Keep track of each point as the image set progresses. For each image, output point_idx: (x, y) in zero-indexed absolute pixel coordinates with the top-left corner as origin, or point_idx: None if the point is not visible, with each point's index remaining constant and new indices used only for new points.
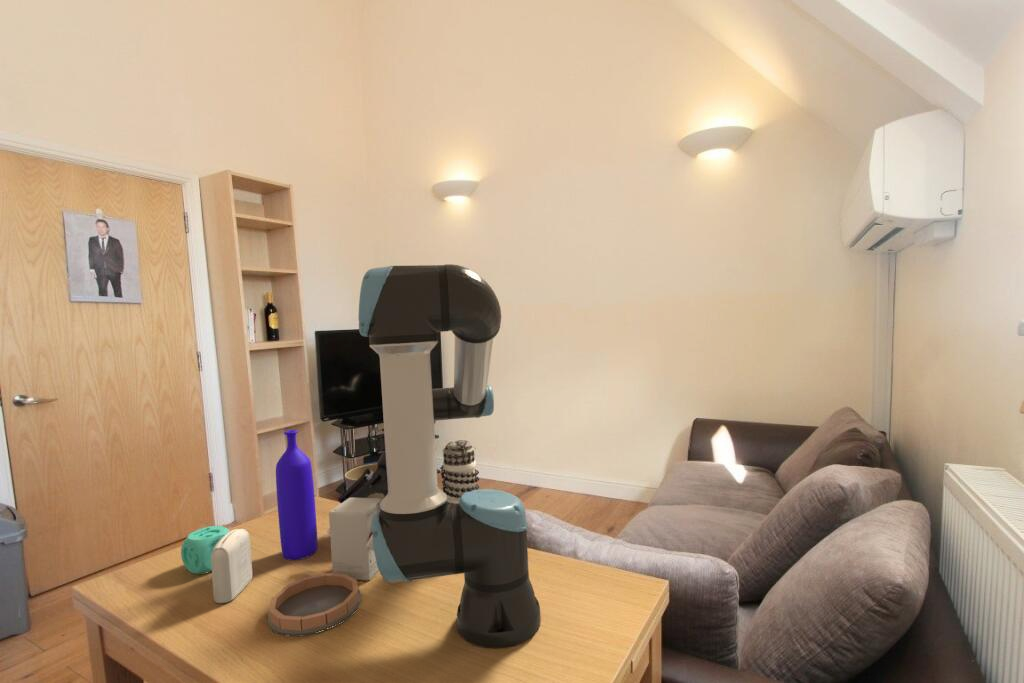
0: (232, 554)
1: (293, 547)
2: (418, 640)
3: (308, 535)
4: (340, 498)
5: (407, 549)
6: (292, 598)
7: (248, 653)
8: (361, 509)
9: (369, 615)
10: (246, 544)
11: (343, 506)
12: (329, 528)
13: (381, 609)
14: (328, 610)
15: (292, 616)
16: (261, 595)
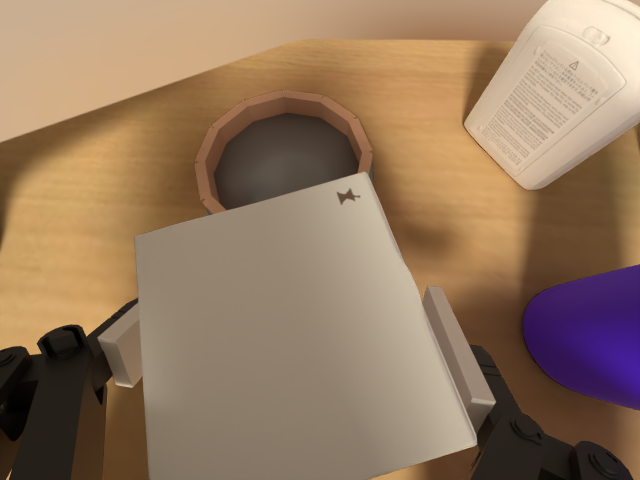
0: (529, 43)
1: (563, 286)
2: (52, 182)
3: (571, 327)
4: (600, 463)
5: None
6: (349, 165)
7: (293, 72)
8: (184, 262)
9: (172, 198)
10: (586, 103)
11: (346, 259)
12: (444, 297)
13: (160, 220)
14: (214, 133)
15: (266, 100)
16: (433, 161)
